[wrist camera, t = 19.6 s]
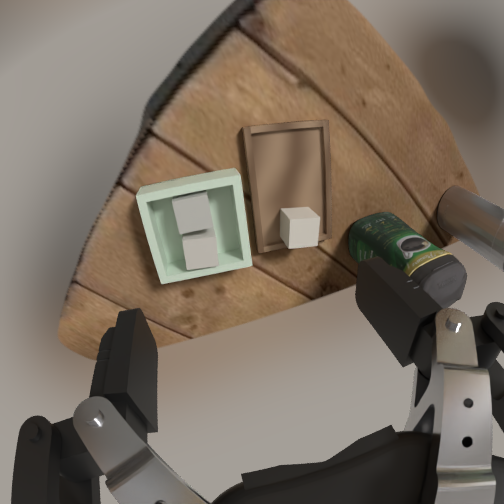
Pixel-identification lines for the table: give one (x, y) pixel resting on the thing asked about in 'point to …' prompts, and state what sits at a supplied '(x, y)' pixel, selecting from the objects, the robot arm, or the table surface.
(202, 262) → the pale grey cube
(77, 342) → the table surface
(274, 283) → the table surface
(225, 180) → the sage bin
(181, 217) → the off-white cube
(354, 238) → the coffee jar
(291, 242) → the white cube
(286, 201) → the walnut tray
